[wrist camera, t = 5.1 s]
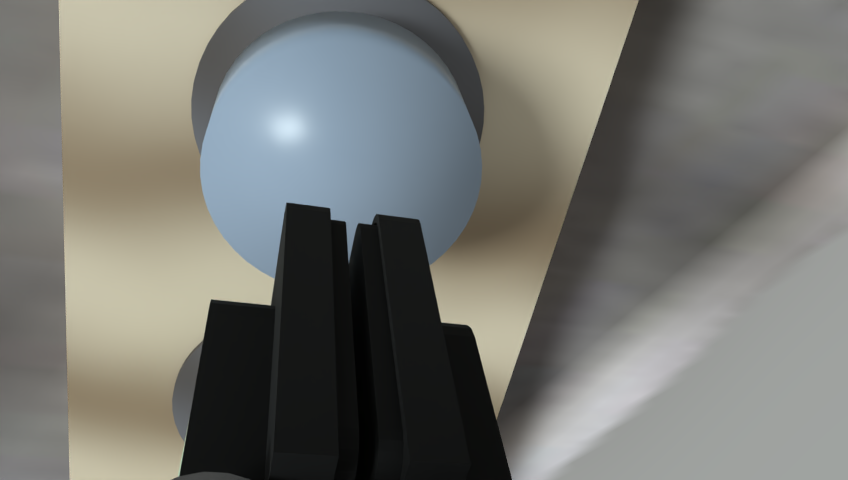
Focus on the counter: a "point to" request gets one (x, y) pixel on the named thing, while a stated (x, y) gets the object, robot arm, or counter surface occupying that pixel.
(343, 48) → the slate button
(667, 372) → the counter surface
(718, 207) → the counter surface
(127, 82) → the button panel
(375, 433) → the robot arm
